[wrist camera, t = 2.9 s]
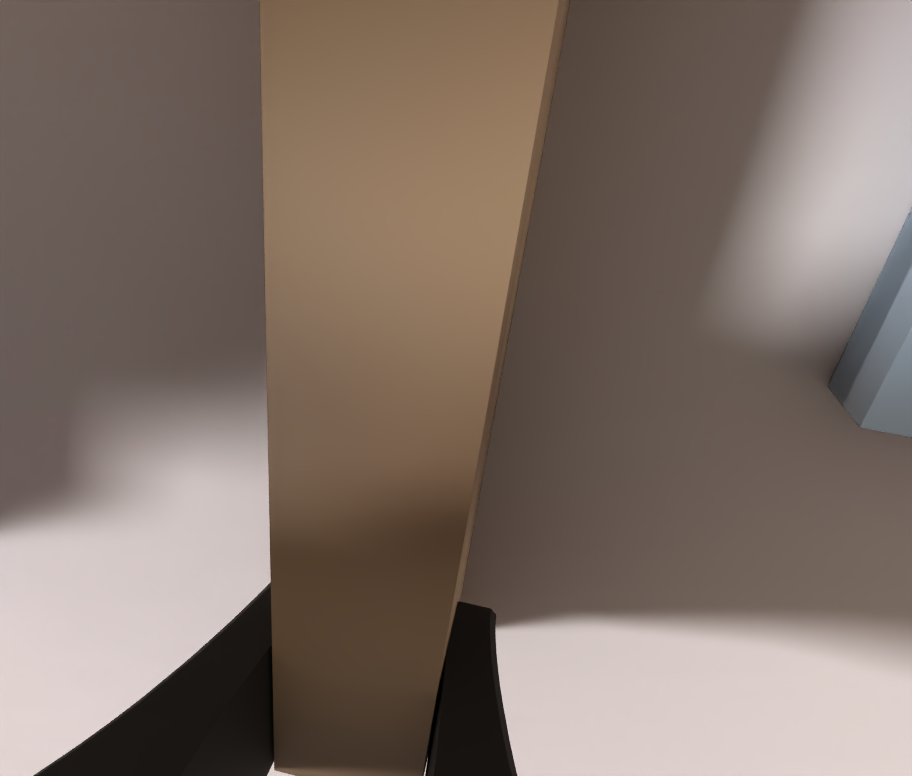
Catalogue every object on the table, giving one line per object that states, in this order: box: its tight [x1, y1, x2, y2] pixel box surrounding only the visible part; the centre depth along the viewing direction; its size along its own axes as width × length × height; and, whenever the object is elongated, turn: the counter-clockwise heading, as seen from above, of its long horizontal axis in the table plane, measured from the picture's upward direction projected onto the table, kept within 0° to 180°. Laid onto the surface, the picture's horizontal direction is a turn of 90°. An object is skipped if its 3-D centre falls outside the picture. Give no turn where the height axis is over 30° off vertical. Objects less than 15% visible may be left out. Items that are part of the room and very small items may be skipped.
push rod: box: [260, 0, 570, 776], centre depth 9 cm, size 13×2×4 cm, turn 172°
